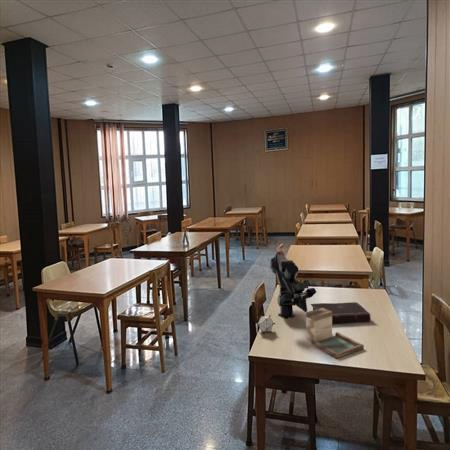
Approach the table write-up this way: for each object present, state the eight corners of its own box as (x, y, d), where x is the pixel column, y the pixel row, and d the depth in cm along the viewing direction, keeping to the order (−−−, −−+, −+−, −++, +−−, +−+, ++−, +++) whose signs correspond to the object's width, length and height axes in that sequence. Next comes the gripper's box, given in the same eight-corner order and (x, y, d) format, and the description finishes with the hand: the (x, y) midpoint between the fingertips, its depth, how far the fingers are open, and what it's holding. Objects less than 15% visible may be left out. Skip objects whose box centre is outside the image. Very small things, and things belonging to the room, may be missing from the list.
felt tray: (311, 344, 162) (311, 340, 162) (337, 335, 169) (337, 332, 169) (336, 358, 149) (336, 354, 149) (363, 349, 156) (363, 345, 156)
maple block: (306, 337, 169) (306, 312, 167) (322, 332, 174) (322, 307, 172) (315, 342, 164) (315, 316, 162) (332, 336, 168) (332, 311, 167)
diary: (370, 323, 182) (370, 313, 182) (320, 326, 181) (320, 316, 180) (355, 309, 201) (355, 300, 200) (310, 312, 200) (310, 303, 199)
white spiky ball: (268, 337, 179) (277, 318, 181) (270, 338, 171) (280, 319, 173) (251, 328, 180) (261, 309, 182) (253, 329, 171) (263, 309, 173)
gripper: (283, 278, 173) (298, 307, 165) (314, 271, 181) (329, 299, 173) (273, 289, 181) (287, 318, 173) (303, 283, 189) (318, 310, 181)
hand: (306, 311), depth 175 cm, fingers closed
